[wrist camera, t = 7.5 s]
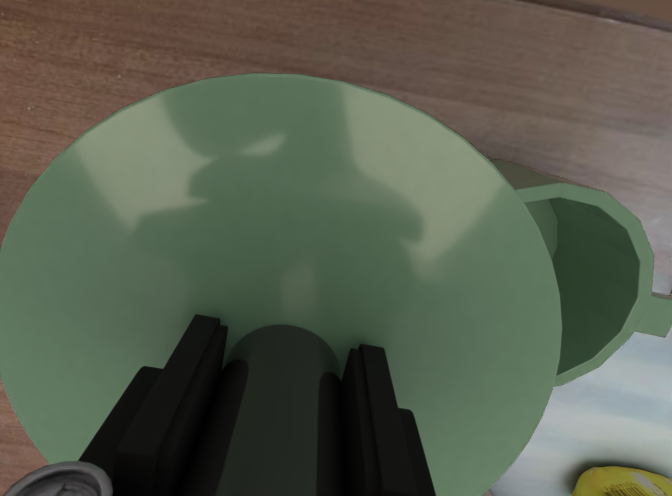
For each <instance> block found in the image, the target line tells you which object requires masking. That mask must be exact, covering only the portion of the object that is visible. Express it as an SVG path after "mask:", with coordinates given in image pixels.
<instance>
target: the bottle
mask: <svg viewBox="0 0 672 496" xmlns="http://www.w3.org/2000/svg"><path fill="white" fill-rule="evenodd" d="M571 496H672V479H668V478H666V477H664V476H662V475H659V474H654V473H650V472H647V471H644V470H639V469H633V468H626V467H618V466H608V467H594V468H590V469H588V470H587V471H585V472H584V473H582V474H581V475H580V477H579V479H578V481H577V484H576V486H575V489H574V491H573V493H572V495H571Z"/></svg>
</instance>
